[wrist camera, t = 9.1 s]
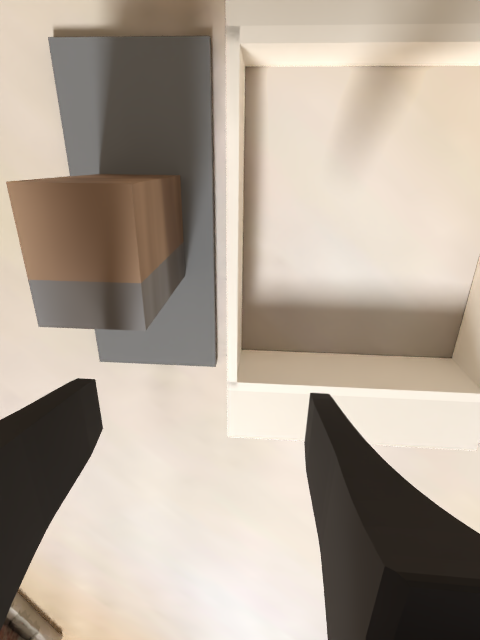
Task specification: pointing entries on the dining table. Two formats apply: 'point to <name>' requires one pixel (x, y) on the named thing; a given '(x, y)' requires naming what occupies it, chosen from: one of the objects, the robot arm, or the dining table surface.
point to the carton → (242, 365)
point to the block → (100, 247)
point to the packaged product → (26, 623)
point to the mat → (149, 165)
